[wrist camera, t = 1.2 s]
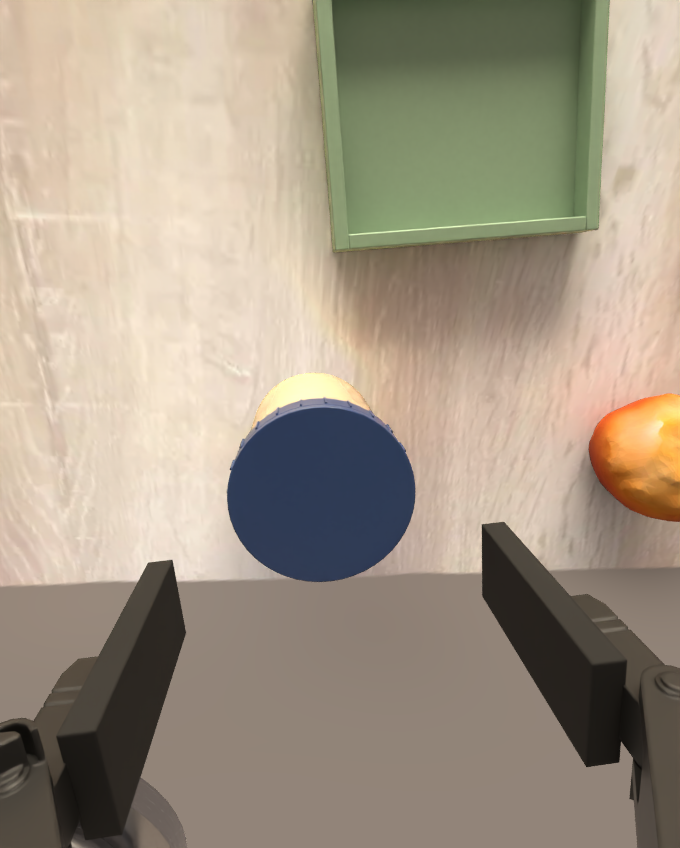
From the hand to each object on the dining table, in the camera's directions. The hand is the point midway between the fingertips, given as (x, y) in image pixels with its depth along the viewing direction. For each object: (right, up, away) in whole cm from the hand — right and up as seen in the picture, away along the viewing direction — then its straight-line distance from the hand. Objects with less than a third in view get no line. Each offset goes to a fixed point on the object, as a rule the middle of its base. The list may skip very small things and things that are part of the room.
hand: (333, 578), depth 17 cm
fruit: (+21, +4, +19) cm, 29 cm away
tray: (+7, +23, +13) cm, 27 cm away
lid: (-1, +2, +7) cm, 7 cm away
